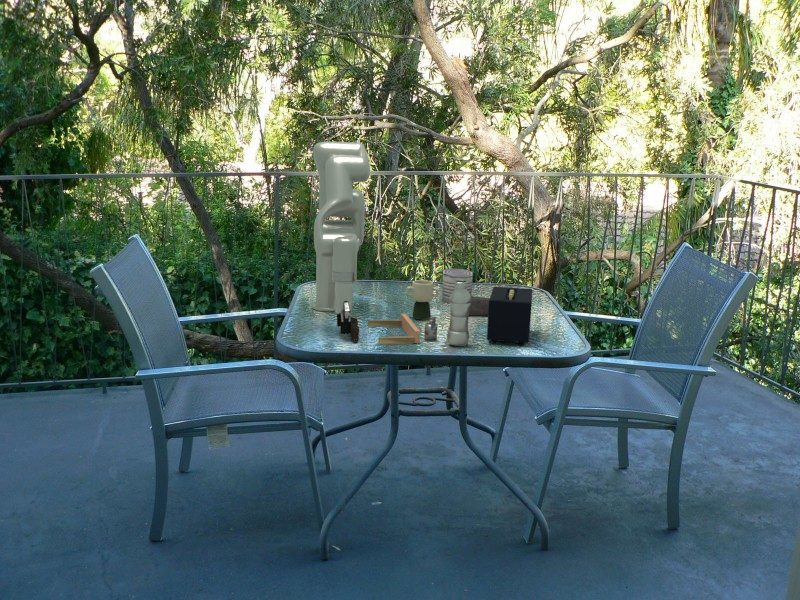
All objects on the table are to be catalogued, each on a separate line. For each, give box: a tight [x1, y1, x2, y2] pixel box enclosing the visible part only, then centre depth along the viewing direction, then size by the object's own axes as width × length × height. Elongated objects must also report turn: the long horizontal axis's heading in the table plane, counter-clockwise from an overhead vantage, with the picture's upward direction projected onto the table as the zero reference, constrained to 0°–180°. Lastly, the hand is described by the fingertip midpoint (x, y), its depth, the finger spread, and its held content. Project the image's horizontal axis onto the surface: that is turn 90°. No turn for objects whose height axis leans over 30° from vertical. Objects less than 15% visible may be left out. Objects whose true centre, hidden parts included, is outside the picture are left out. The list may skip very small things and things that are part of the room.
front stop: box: [400, 313, 421, 345], centre depth 267 cm, size 23×2×4 cm, turn 11°
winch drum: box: [423, 316, 439, 342], centre depth 260 cm, size 6×4×8 cm, turn 11°
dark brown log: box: [349, 316, 360, 344], centre depth 263 cm, size 19×4×5 cm, turn 5°
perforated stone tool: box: [469, 295, 490, 317], centre depth 296 cm, size 15×5×7 cm, turn 91°
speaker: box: [486, 286, 533, 346], centre depth 266 cm, size 22×13×15 cm, turn 170°
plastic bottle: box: [446, 280, 471, 347], centre depth 255 cm, size 6×7×20 cm
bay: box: [367, 319, 415, 345], centre depth 266 cm, size 23×11×2 cm, turn 11°
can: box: [441, 268, 474, 305], centre depth 315 cm, size 11×11×12 cm
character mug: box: [406, 279, 440, 320], centre depth 287 cm, size 11×7×13 cm, turn 88°
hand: (343, 330), depth 263 cm, fingers open, 9 cm apart
